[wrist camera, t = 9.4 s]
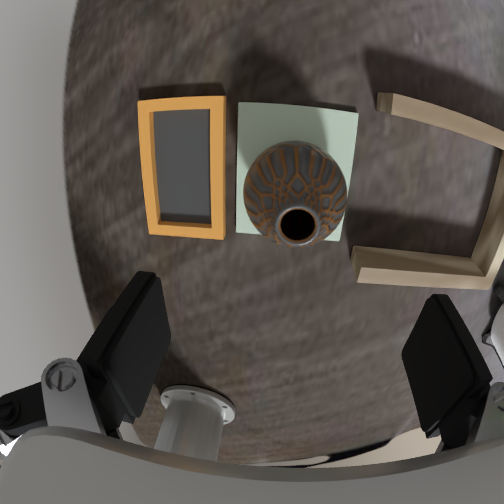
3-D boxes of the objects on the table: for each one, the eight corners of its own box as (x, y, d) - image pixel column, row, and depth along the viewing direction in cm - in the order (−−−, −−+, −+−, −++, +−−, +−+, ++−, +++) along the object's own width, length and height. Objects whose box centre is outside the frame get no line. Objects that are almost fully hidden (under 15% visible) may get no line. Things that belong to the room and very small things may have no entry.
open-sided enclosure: (474, 270, 25) (489, 289, 22) (350, 259, 26) (357, 282, 23) (513, 138, 17) (536, 148, 14) (377, 92, 18) (393, 93, 15)
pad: (338, 239, 25) (339, 241, 25) (236, 230, 26) (236, 232, 25) (357, 113, 19) (358, 113, 19) (239, 102, 20) (238, 102, 20)
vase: (351, 194, 22) (381, 250, 15) (277, 230, 25) (272, 297, 17) (311, 118, 20) (327, 134, 12) (233, 161, 22) (204, 202, 15)
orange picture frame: (225, 234, 26) (223, 239, 25) (153, 229, 26) (149, 233, 26) (226, 95, 20) (223, 95, 19) (143, 100, 20) (137, 101, 19)
